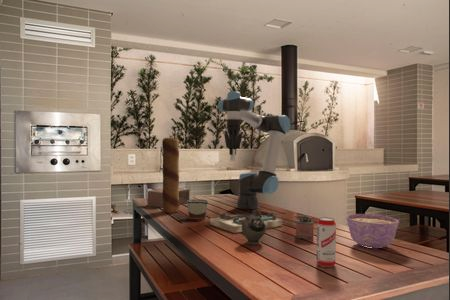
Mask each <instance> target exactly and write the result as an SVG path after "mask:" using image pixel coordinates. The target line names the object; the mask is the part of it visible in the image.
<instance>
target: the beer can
mask: <svg viewBox="0 0 450 300" xmlns="http://www.w3.org/2000/svg"><path fill="white" fill-rule="evenodd" d="M316 225H317V226H316V256H315V257H316V260H315V261H316V264H317V265H318V266H319V265H320V266H319V267H321V266H324V267H323V268H325V267H331V268H333V267H334V266H336V251H337V250H336V246H337V244H336V243H337V241H336V240H337V239H336V237H337V233H336V232H337V223H336V222H335V218H332V217H325V216H324V217H321V216H320V217H319V218H318V221H317V223H316ZM332 266H333V267H332Z"/></svg>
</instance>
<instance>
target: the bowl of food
mask: <svg viewBox="0 0 450 300" xmlns="http://www.w3.org/2000/svg"><path fill="white" fill-rule="evenodd" d="M346 221H347V225H348V231H349V235H350V237H351V239H352V241H354V242H355V243H357V244H358V245H360V246H361V245H363V246H367V247H372V248H380V247H382V248H386V247H388V246H390V245H391V244H392V243H393V241H394V239H395V237H396V233H397V230H398V226H399V223H400V221H399V220H398V219H397V218H394V217H391V216H386V215H380V214H369V213H362V214H361V213H356V214H355V213H354V214H348V215H347V216H346Z"/></svg>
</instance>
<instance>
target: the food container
mask: <svg viewBox="0 0 450 300" xmlns="http://www.w3.org/2000/svg"><path fill="white" fill-rule="evenodd" d="M185 205H187V213H188V219H197V220H198V219H199V220H206V218H207V210H208V209H207V208H208V205H209V202H208V200H207V199H203V198H201V199H200V198H199V199H198V198H196V199H193V198H192V199H189V200H187V203H186V204H185Z"/></svg>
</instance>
